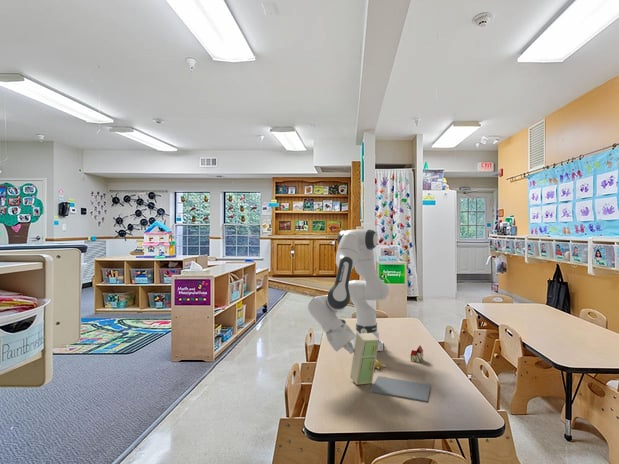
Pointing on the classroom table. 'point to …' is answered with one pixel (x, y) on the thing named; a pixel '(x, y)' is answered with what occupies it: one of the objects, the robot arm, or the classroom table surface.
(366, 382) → the toy refrigerator
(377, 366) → the character toy
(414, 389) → the mat
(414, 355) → the toy house
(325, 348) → the classroom table surface
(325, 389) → the classroom table surface
